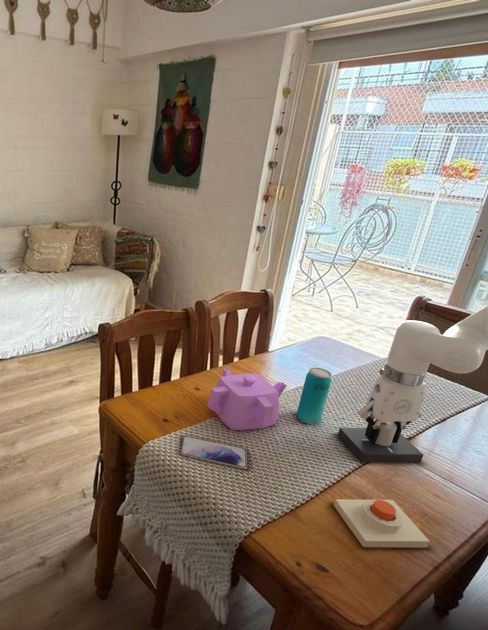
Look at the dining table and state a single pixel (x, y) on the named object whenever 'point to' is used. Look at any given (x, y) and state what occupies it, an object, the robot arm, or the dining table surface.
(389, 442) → the timer knob
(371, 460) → the panel
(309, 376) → the beverage can
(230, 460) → the smartphone
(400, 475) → the dining table surface
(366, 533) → the block
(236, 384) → the teakettle
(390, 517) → the button
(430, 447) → the dining table surface
